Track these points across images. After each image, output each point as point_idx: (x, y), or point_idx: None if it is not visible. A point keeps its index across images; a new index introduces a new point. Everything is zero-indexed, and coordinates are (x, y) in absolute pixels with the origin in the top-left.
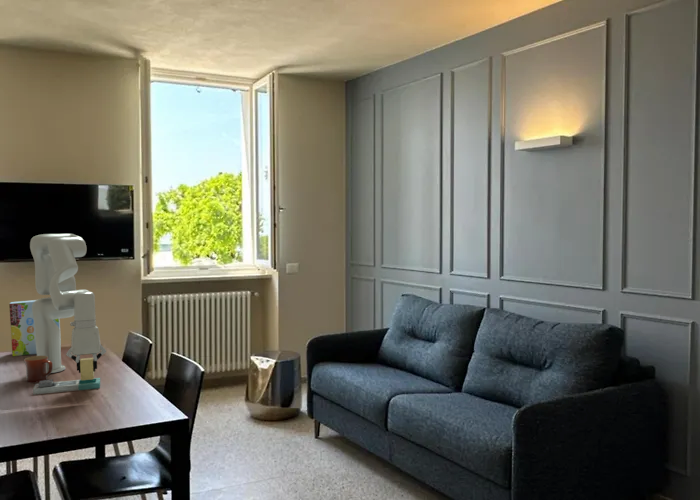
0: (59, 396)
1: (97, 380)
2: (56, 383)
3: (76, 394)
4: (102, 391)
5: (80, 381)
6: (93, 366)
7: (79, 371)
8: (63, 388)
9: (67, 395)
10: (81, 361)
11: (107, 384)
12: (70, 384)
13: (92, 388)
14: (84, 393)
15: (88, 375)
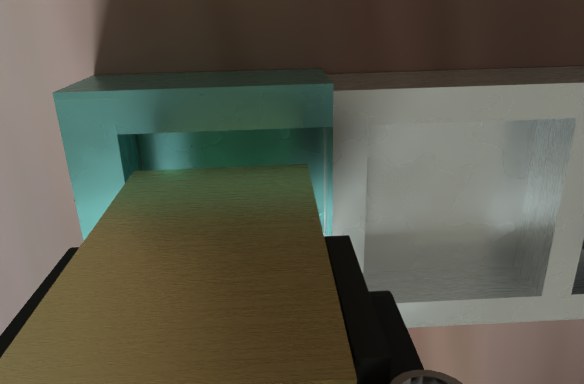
0: (519, 9)
1: None
2: (580, 252)
3: (342, 29)
4: (62, 57)
5: None
6: None
7: (339, 244)
8: (505, 80)
9: (436, 21)
10: (314, 359)
11: None
12: (418, 279)
13: (165, 79)
14: (258, 41)
15: (193, 193)
